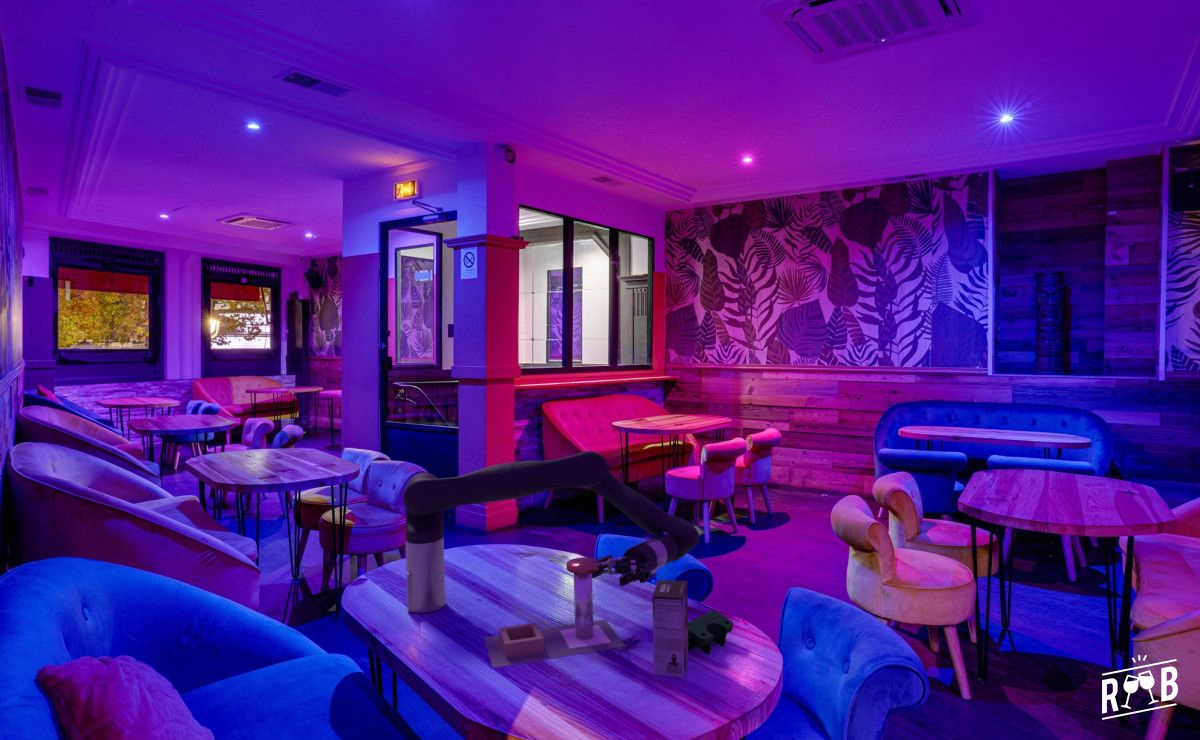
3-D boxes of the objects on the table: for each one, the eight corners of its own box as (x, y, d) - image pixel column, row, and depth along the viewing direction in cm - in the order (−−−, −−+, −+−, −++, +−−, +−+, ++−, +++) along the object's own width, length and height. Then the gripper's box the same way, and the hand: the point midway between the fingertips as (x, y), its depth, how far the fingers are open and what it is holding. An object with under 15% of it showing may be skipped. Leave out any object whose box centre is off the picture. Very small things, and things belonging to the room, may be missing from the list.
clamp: (701, 675, 137) (698, 646, 133) (680, 658, 142) (676, 630, 137) (736, 638, 144) (734, 609, 140) (715, 623, 148) (712, 595, 144)
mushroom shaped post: (573, 645, 139) (571, 570, 138) (565, 631, 145) (562, 559, 144) (604, 640, 141) (602, 565, 140) (595, 626, 147) (593, 555, 147)
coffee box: (658, 653, 138) (657, 578, 137) (688, 656, 137) (688, 580, 136) (653, 675, 129) (652, 595, 128) (685, 678, 128) (684, 597, 127)
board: (493, 675, 130) (492, 653, 130) (483, 644, 143) (483, 624, 143) (625, 653, 138) (625, 632, 138) (605, 625, 152) (605, 606, 151)
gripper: (621, 538, 165) (581, 555, 152) (670, 547, 156) (630, 567, 144) (622, 567, 166) (581, 587, 153) (670, 578, 157) (631, 601, 144)
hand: (605, 577), depth 148 cm, fingers open, 8 cm apart
